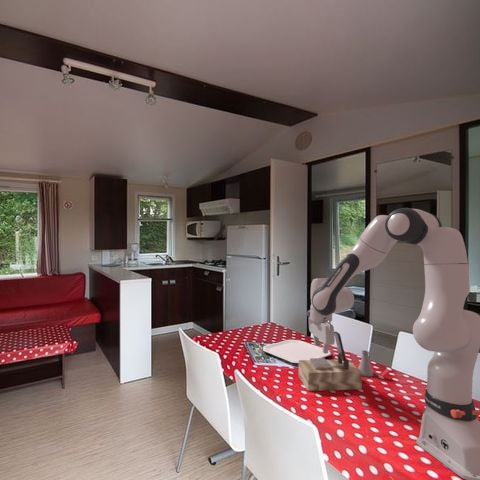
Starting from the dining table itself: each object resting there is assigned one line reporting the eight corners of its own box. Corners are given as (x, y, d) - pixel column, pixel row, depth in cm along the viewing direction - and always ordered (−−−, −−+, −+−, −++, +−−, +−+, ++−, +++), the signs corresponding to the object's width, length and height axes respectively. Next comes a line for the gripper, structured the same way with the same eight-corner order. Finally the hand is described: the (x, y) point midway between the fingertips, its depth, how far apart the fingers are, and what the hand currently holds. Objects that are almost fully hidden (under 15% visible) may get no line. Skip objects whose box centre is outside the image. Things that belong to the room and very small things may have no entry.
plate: (299, 370, 145) (300, 365, 145) (257, 351, 167) (257, 347, 167) (336, 356, 163) (336, 352, 163) (293, 341, 186) (293, 338, 186)
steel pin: (329, 383, 129) (330, 364, 129) (314, 384, 128) (315, 364, 128) (323, 376, 135) (324, 358, 135) (309, 377, 134) (309, 358, 134)
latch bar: (339, 358, 134) (342, 357, 135) (344, 361, 130) (346, 361, 131) (333, 332, 134) (336, 331, 134) (337, 334, 130) (340, 334, 130)
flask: (375, 378, 138) (375, 355, 138) (357, 376, 139) (358, 353, 139) (371, 371, 145) (372, 349, 145) (355, 369, 146) (355, 348, 146)
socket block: (347, 375, 139) (347, 351, 140) (361, 389, 127) (362, 363, 127) (298, 376, 137) (299, 352, 137) (307, 390, 124) (308, 363, 124)
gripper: (338, 321, 121) (338, 357, 121) (319, 310, 142) (319, 341, 141) (323, 321, 121) (322, 358, 120) (306, 310, 141) (305, 342, 141)
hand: (321, 349), depth 131 cm, fingers open, 8 cm apart
